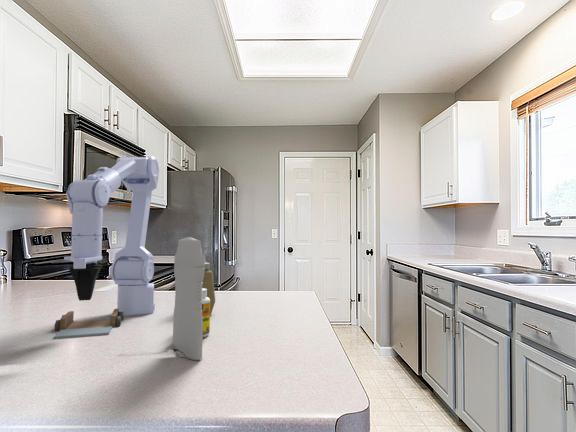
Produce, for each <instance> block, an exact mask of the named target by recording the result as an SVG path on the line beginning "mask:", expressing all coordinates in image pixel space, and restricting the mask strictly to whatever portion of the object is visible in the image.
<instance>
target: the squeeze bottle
mask: <svg viewBox="0 0 576 432" xmlns="http://www.w3.org/2000/svg"><path fill="white" fill-rule="evenodd" d="M201 250H202V255H203V257H204V258H205V266H204V278H203V280H202V283H203V285H202V288H205V289H207V296H206V297H208V298H210V315H212V312H213V310H214V306H215V303H216V294H215V284H214V283H215V282H214V280H215V279H214V272H213V271H212V270H210V269H211V268H210V267H211V264H210V262H207V259H206V255H205V254H206V253H205V250H204V249H201Z"/></svg>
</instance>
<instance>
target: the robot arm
mask: <svg viewBox="0 0 576 432" xmlns="http://www.w3.org/2000/svg"><path fill="white" fill-rule="evenodd" d="M159 176H160V166H159V162H158V161H157V159H156V158H155V156H120V157H117V158H116V164H114V165H113V166H111V168H110V167H107V166H100V167H98V169H97V171H96V172H94V173H93V174H89V175H87V177H86V178H84V179H82V180H79V179H78V180H77V179H76V180H74V181H73V182H71V183H70V184H68V188H67V191H66V193H65V195H66V200H67V202H68V205H69V212H70V213H69V214H71V215H72V216H71V244H70V247H71V249H70V256H69V255H68V256H64V257H63V258H64V261H70V262H73V265H72V266H69V267H68V271H69V273H70V274H71V276H72V279H73V281H74V284H75V289H76V293H77V298H78V301H82V302H83V301H91V300H92V298H93V294H94V290H95V285H96V282H97V278H98V275H99V273H100V271H101V269H103V265H102V264H96V263H98V261H102V260H103V255H102V250H103V249H102V248H103V247H102V245H103V243H102V242H103V221H104V220H103V219H104V218H103V217H104V216H103V215H104V214H103V212H104V207H105V206H107V205H108V203H109V200H110V198H111V196H112V194H113V193H114V192H115V191H117V190H118V189H119V188H120V186H121V185H122V184H123V185H124V186H125V188H126V189H128V190H129V191H131V192H132V197H131V204H130V212H129V217H128V224H127V225H128V227H127V231H126V238H125V245H124V247H123V248H122V249H120V250H119V251H117V252H116V253H115V255H114V259H113V262H112V264H111V266H110V277H111V279H112V281H113V282H114V283H115V285H117V299H116V300H117V302H116V304H117V307H116V309H119V312H123V316H136V315H147V314H148V315H149V314H150V315H151V314H154V311H155V306H156V305H155V304H156V303H154V300H155V299H154V296H155V283H151V280H152V279H153V277H154V274H155V264H154V259H155V258H154V255H153V253H151V252H150V251H149V250H147V249H146V241H147V240H146V239H147V238H146V237H147V233H148V232H147V231H148V225H149V224H148V223H149V216H150V208H151V202H152V194H153V191H154V190H155V189H157V187H158V182H159Z"/></svg>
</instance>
